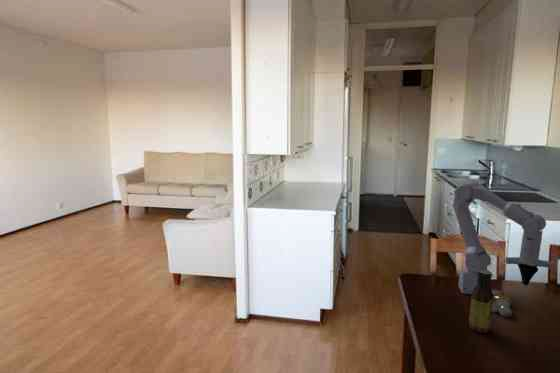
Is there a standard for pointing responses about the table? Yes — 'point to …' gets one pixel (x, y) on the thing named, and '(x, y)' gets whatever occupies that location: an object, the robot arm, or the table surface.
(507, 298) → the coupling
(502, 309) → the valve body
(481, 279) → the sauce bottle
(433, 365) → the table surface
